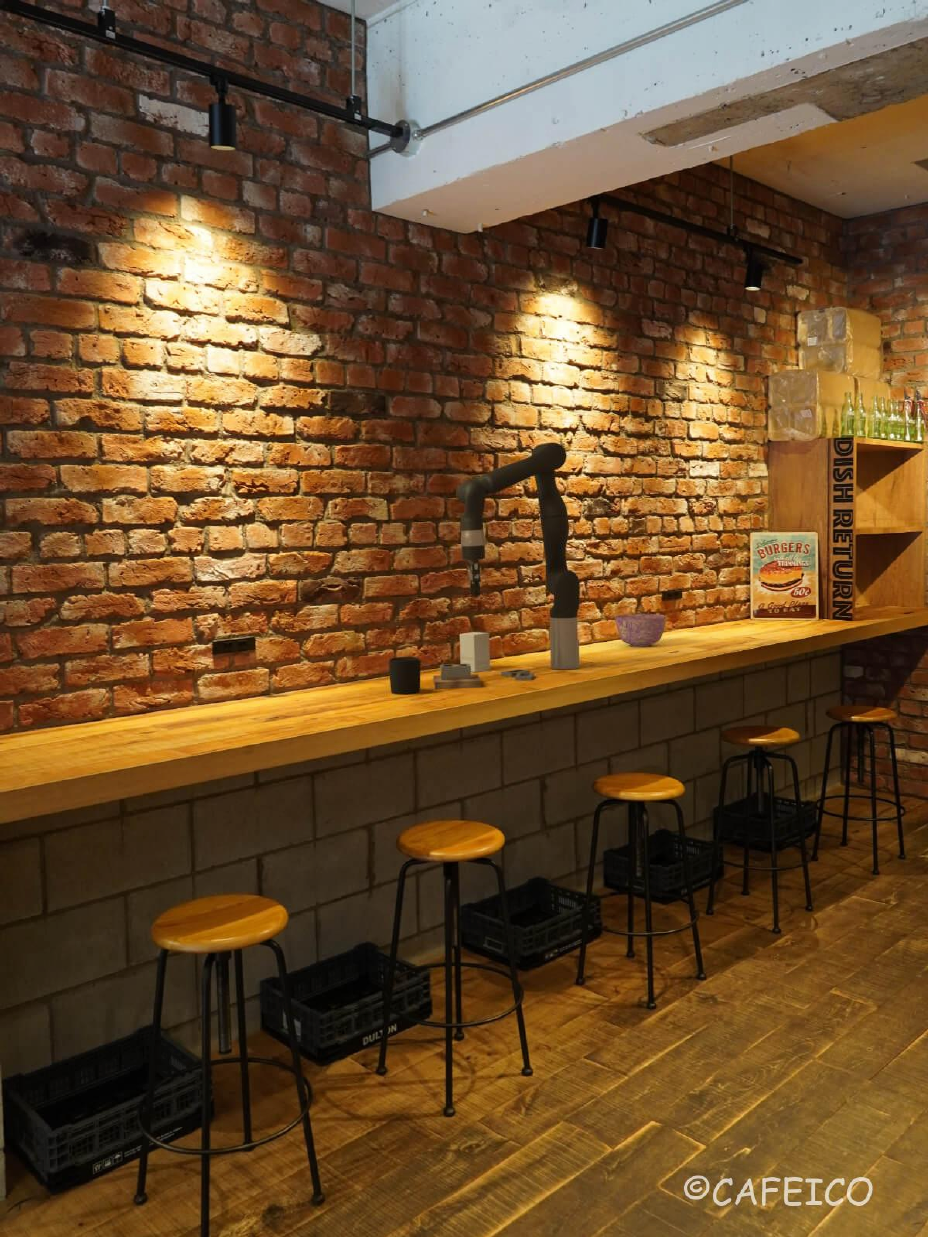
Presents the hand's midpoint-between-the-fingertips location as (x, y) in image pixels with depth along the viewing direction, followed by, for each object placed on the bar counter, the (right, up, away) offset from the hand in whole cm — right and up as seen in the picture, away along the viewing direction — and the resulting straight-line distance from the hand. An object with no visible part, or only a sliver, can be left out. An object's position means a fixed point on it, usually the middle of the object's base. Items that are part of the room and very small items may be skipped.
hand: (475, 594), depth 336 cm
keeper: (-6, -28, -14) cm, 32 cm away
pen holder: (-21, -30, -26) cm, 45 cm away
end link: (-6, -26, -14) cm, 30 cm away
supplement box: (0, -25, +16) cm, 30 cm away
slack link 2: (+16, -27, -5) cm, 31 cm away
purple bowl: (+66, -19, +73) cm, 99 cm away
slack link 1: (+13, -26, +3) cm, 29 cm away
